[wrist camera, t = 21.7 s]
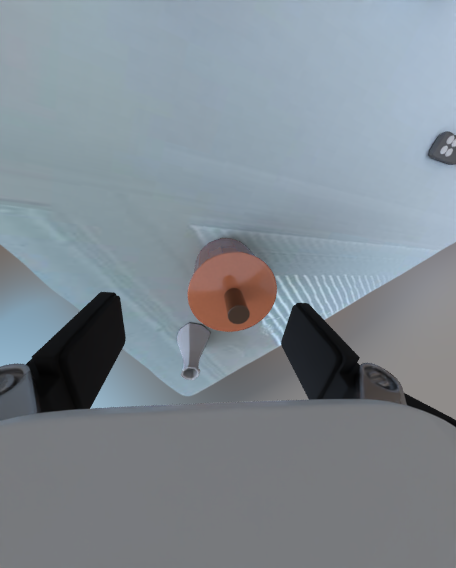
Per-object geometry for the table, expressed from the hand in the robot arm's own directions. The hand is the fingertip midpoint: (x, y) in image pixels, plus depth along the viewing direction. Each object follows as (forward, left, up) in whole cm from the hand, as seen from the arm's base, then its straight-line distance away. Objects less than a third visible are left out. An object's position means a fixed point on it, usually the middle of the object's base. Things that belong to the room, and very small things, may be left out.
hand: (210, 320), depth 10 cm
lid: (+3, +6, -14) cm, 16 cm away
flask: (+20, +10, -25) cm, 33 cm away
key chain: (-37, +27, -25) cm, 52 cm away
